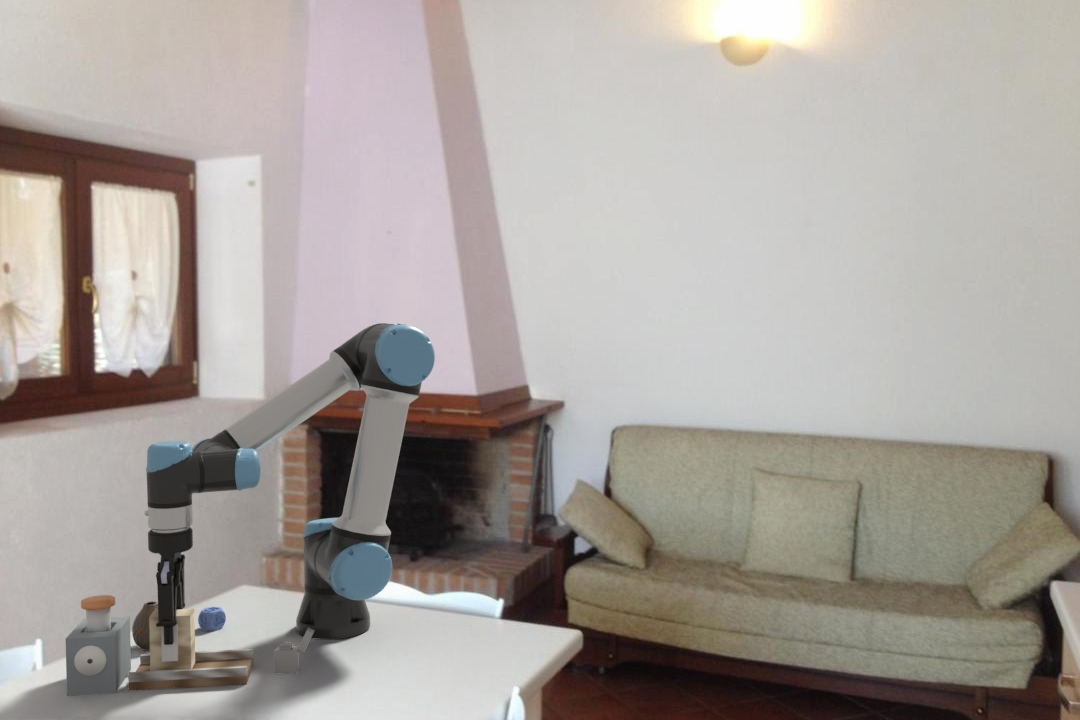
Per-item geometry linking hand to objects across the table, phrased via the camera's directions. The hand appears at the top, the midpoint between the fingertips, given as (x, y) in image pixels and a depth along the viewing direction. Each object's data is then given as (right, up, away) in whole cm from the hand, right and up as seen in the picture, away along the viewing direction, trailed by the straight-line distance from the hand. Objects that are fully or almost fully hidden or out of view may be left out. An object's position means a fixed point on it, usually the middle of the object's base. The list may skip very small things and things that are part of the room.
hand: (172, 655), depth 181 cm
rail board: (+3, -4, +1) cm, 5 cm away
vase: (-10, -3, +17) cm, 20 cm away
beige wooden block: (0, -2, 0) cm, 2 cm away
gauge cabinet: (-12, -4, -2) cm, 13 cm away
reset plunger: (-12, +3, -2) cm, 13 cm away
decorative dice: (-2, -3, +28) cm, 28 cm away
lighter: (+21, -4, +4) cm, 22 cm away
